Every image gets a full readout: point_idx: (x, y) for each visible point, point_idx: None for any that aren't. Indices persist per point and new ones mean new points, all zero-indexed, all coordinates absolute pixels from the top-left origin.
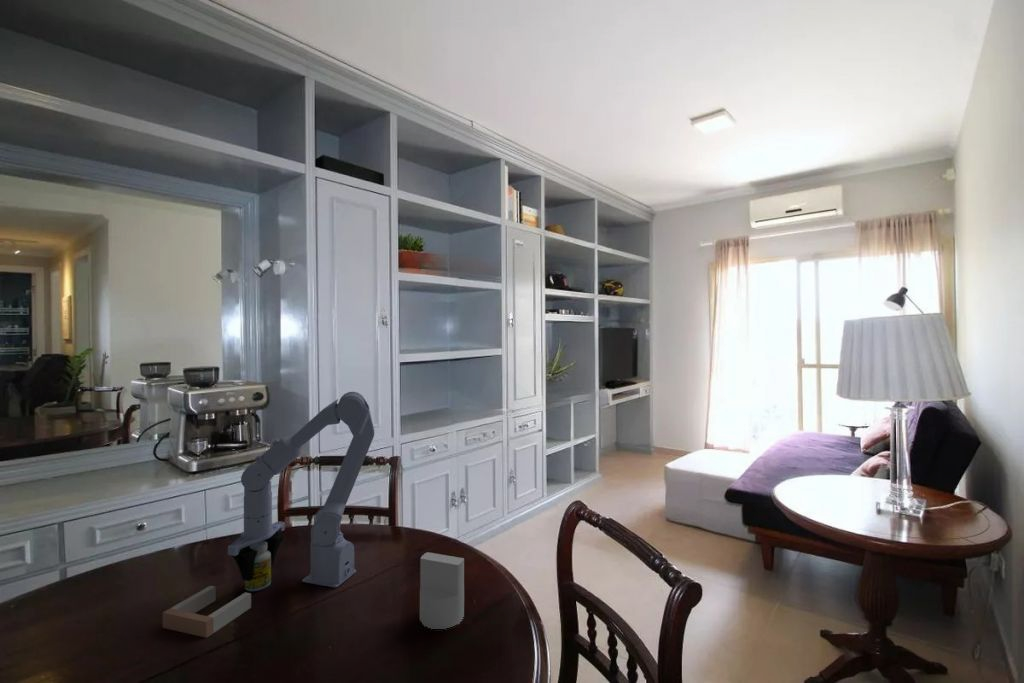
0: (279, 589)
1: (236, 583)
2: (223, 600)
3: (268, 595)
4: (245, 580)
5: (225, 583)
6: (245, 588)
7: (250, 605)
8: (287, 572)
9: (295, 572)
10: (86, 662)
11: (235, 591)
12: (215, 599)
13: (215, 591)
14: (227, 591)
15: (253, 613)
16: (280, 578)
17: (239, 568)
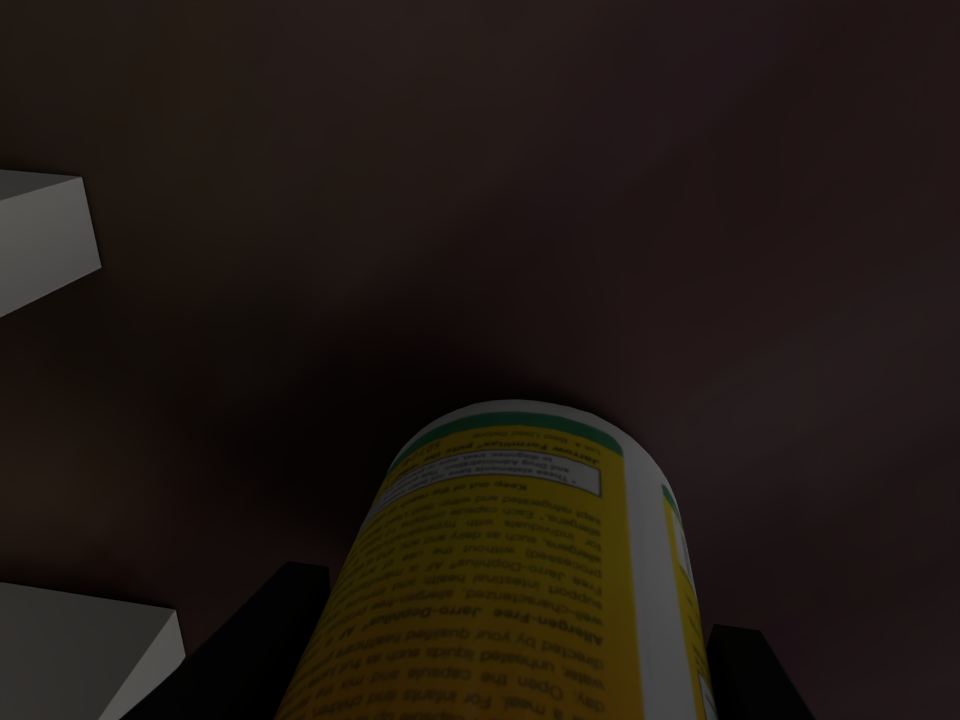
0: None
1: (527, 204)
2: (150, 352)
3: None
4: (358, 534)
5: (488, 13)
6: (394, 459)
7: (168, 673)
8: (899, 642)
9: (896, 712)
10: None
11: (347, 346)
12: (90, 272)
13: (9, 312)
14: (312, 245)
15: None
16: None
17: (133, 712)
